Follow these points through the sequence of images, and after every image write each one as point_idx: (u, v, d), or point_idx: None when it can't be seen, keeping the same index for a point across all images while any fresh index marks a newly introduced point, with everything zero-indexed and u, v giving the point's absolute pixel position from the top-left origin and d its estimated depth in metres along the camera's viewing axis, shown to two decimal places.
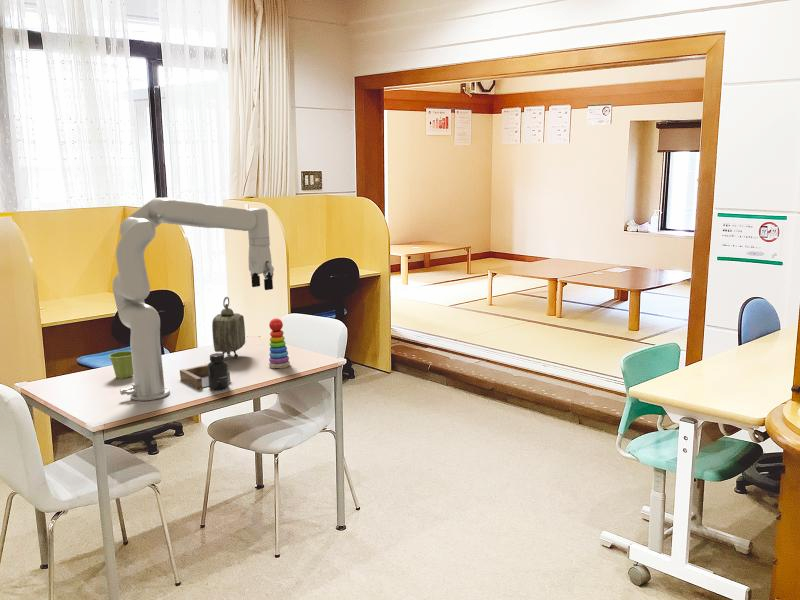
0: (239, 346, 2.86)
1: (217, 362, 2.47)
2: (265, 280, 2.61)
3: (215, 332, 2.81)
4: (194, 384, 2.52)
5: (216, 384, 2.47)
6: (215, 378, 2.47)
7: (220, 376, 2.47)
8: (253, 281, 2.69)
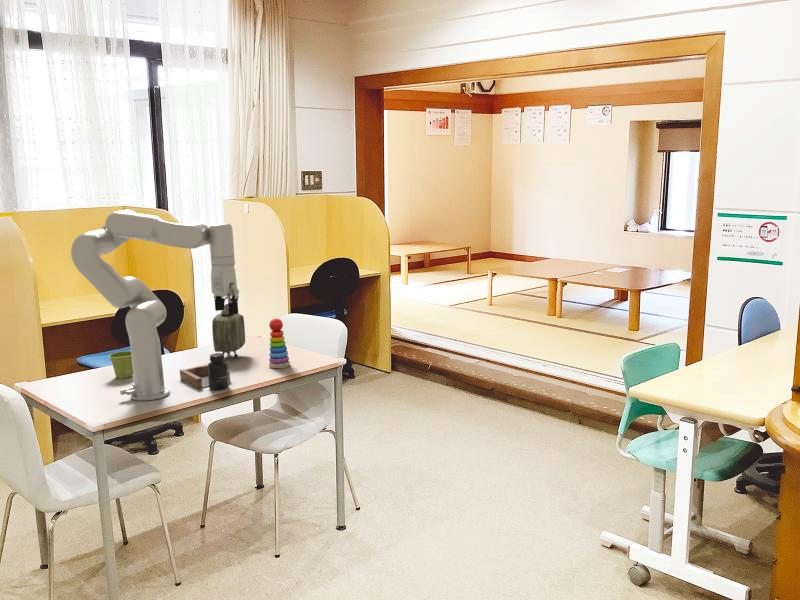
0: (239, 346, 2.86)
1: (217, 362, 2.47)
2: (229, 304, 2.34)
3: (215, 332, 2.81)
4: (194, 384, 2.52)
5: (216, 384, 2.47)
6: (215, 378, 2.47)
7: (220, 376, 2.47)
8: (216, 304, 2.41)
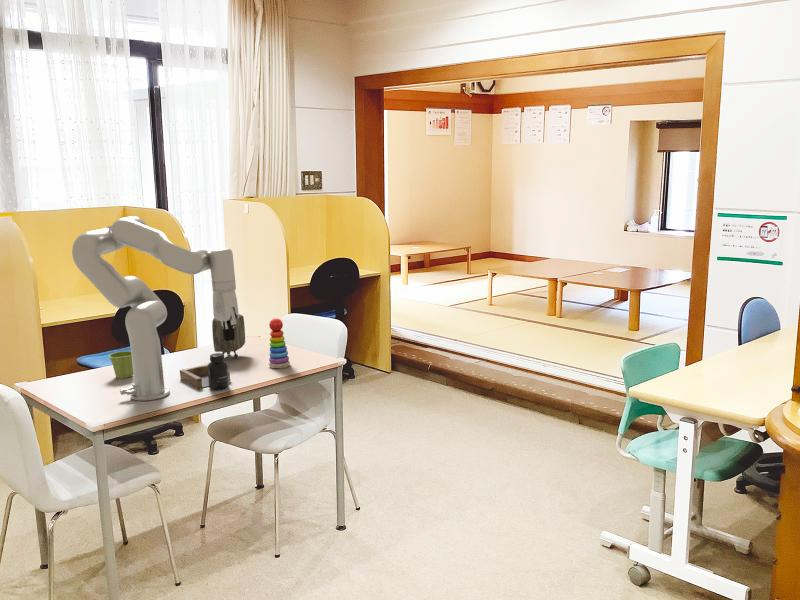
0: (239, 346, 2.86)
1: (217, 362, 2.47)
2: (225, 330, 2.38)
3: (215, 332, 2.81)
4: (194, 384, 2.52)
5: (216, 384, 2.47)
6: (215, 378, 2.47)
7: (220, 376, 2.47)
8: None
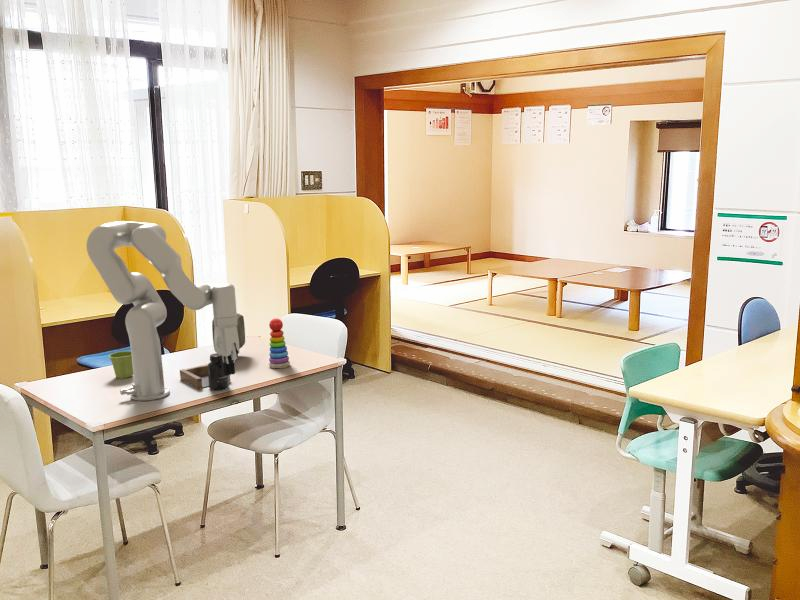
0: (239, 346, 2.86)
1: (217, 362, 2.47)
2: (226, 365, 2.40)
3: None
4: (194, 384, 2.52)
5: (216, 384, 2.47)
6: (215, 378, 2.47)
7: (220, 376, 2.47)
8: None
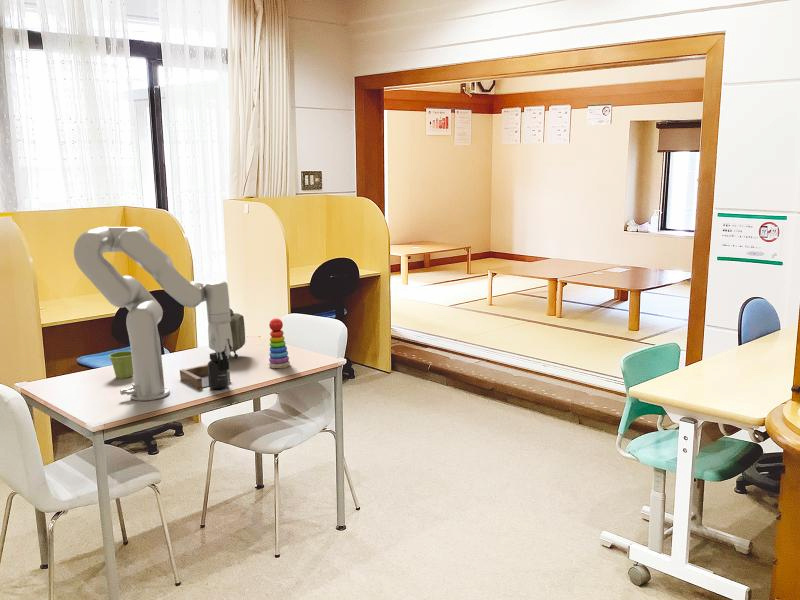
0: (239, 346, 2.86)
1: (217, 360, 2.48)
2: (220, 360, 2.45)
3: None
4: (194, 384, 2.52)
5: (216, 382, 2.47)
6: (215, 376, 2.47)
7: (220, 374, 2.48)
8: None
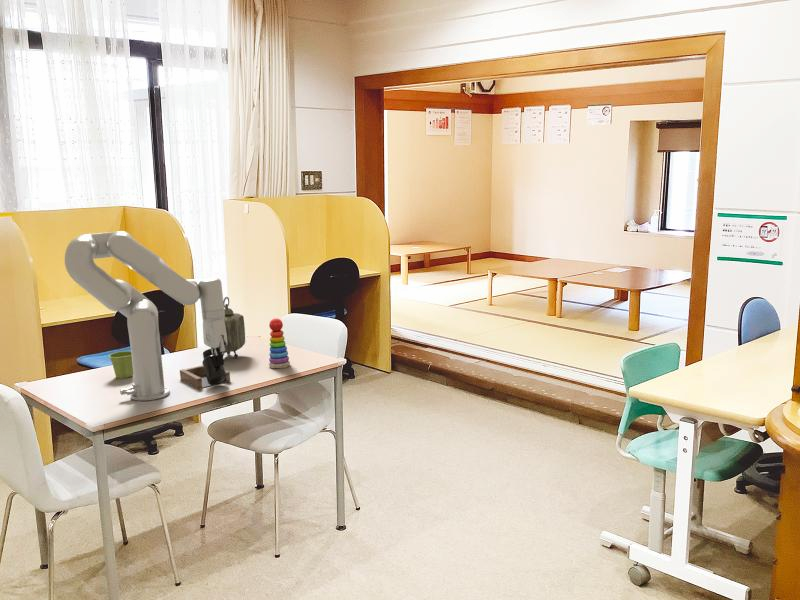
0: (239, 346, 2.86)
1: (210, 354, 2.54)
2: (215, 356, 2.49)
3: None
4: (194, 384, 2.52)
5: (212, 371, 2.49)
6: (210, 366, 2.50)
7: None
8: None
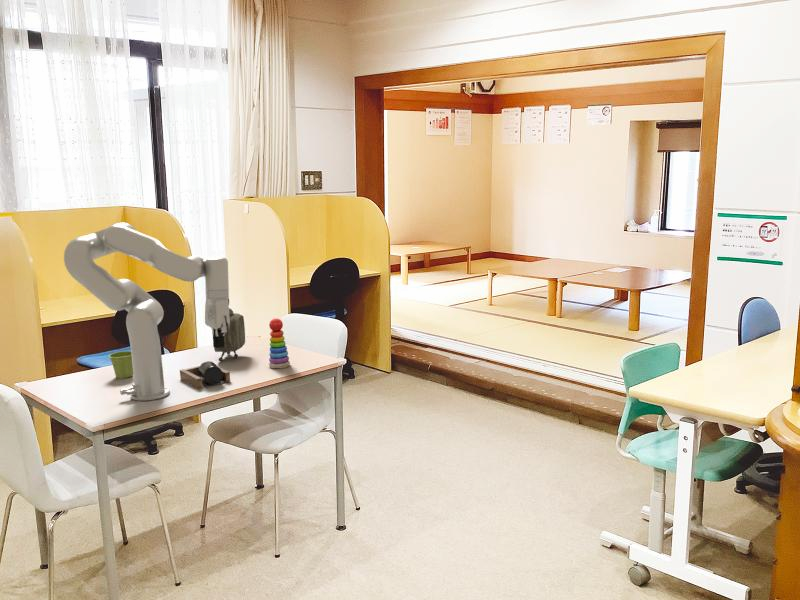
0: (239, 346, 2.86)
1: None
2: (216, 337, 2.42)
3: None
4: (194, 384, 2.52)
5: (204, 369, 2.53)
6: (202, 368, 2.55)
7: (206, 364, 2.56)
8: None
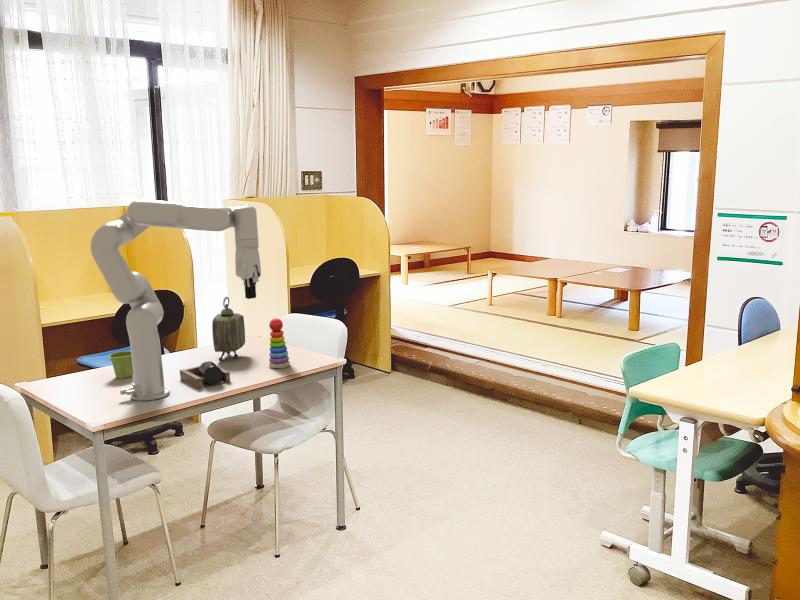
0: (239, 346, 2.86)
1: None
2: (247, 288, 2.40)
3: (215, 332, 2.81)
4: (194, 384, 2.52)
5: (204, 369, 2.53)
6: (202, 368, 2.55)
7: (206, 364, 2.56)
8: None
